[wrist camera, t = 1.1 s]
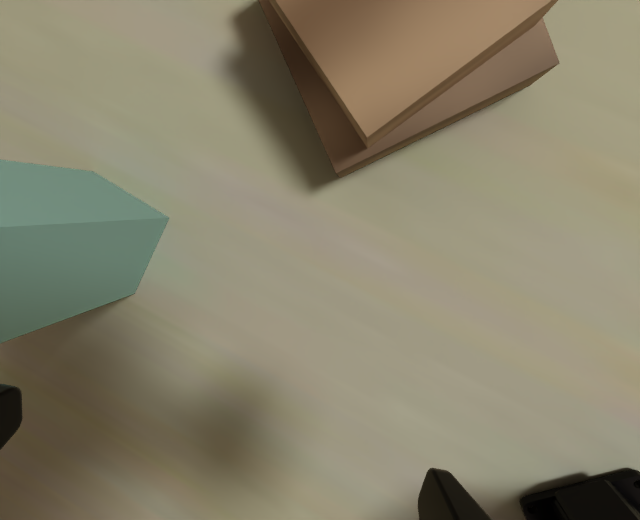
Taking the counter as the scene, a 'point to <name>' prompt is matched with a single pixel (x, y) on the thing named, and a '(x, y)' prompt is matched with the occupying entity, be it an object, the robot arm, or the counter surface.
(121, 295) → the teal block
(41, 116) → the counter surface
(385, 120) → the top coaster
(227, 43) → the counter surface
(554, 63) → the base plinth
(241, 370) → the counter surface
